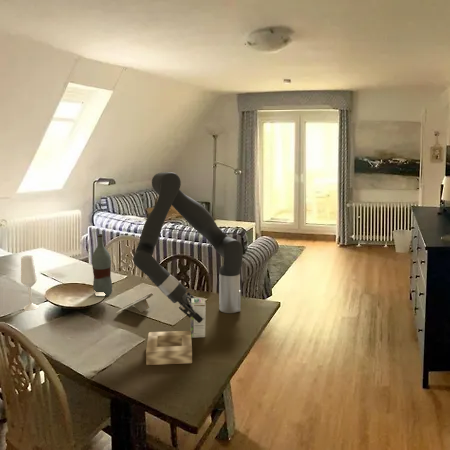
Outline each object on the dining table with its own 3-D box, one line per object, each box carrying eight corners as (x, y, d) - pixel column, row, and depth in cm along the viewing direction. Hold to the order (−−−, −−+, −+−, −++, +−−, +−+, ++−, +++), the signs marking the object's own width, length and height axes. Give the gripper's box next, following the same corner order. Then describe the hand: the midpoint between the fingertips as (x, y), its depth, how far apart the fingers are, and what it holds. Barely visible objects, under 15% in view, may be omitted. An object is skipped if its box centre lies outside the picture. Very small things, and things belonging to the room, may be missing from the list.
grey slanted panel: (127, 328, 211) (153, 307, 209) (114, 313, 211) (140, 291, 209) (138, 319, 227) (162, 298, 225) (126, 304, 227) (149, 284, 226)
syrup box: (190, 331, 198) (190, 298, 195) (205, 331, 199) (205, 297, 196) (191, 338, 193) (190, 303, 190) (206, 337, 193) (205, 302, 190)
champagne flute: (41, 304, 227) (37, 254, 221) (36, 310, 220) (31, 258, 215) (26, 304, 226) (22, 254, 221) (21, 310, 220) (16, 258, 215)
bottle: (112, 296, 237) (109, 236, 230) (93, 298, 235) (89, 237, 229) (112, 290, 246) (109, 232, 239) (94, 291, 244) (90, 232, 237)
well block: (191, 342, 189) (191, 330, 188) (192, 363, 173) (191, 350, 172) (149, 344, 187) (148, 332, 186) (146, 364, 172) (146, 351, 171)
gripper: (175, 288, 185) (206, 318, 186) (182, 276, 199) (211, 304, 200) (162, 301, 186) (193, 331, 188) (169, 288, 200) (198, 316, 202)
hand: (202, 317), depth 194 cm, fingers closed on syrup box, 6 cm apart
